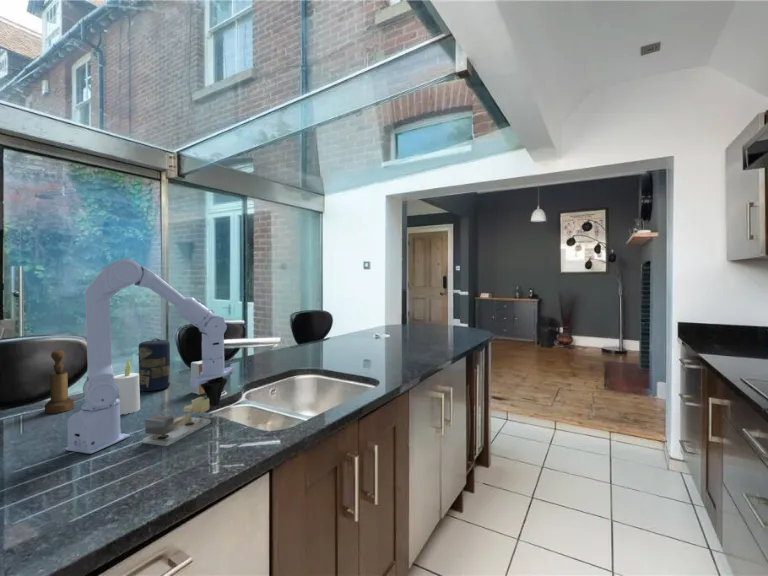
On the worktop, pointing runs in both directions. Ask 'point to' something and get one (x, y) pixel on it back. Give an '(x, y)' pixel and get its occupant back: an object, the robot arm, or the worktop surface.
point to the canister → (154, 365)
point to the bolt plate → (177, 432)
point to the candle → (128, 391)
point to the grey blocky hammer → (163, 424)
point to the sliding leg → (198, 406)
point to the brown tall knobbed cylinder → (58, 387)
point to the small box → (195, 371)
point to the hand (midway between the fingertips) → (214, 405)
